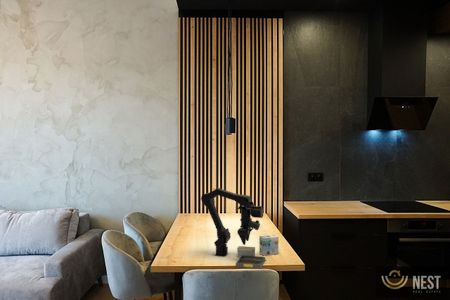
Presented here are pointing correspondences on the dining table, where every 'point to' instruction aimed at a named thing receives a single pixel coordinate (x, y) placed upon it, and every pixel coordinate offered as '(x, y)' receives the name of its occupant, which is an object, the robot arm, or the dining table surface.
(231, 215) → the dining table surface
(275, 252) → the light bulb box
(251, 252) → the panel
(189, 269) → the dining table surface
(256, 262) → the grey shallow square tray
